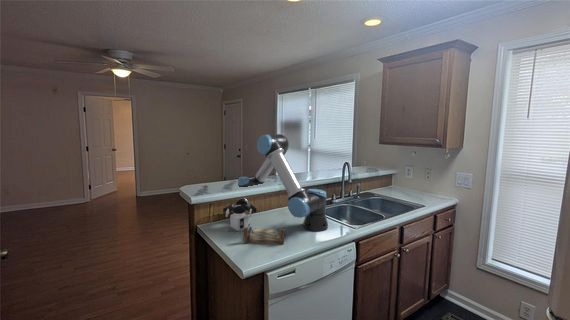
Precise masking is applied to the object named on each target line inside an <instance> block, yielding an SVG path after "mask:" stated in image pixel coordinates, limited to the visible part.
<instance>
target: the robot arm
mask: <svg viewBox="0 0 570 320" xmlns="http://www.w3.org/2000/svg"><path fill="white" fill-rule="evenodd" d="M289 144H290V142H289V140H288V138H287V137H286V136H285V135H284V134H280V133H278V134H269V133H267V134H263V135H261V136H259V138H258V140H257V143H256V148H257V151H258V153H259V154H261V155H263V156H265V158H266V159H265V160H264V161H263V163H262V165H261V166H260V168H259V170H258V171H257V172H256V174H255V175H254V177H252V178H249V177H248V176H239V178H238V181H237V187H238V186H239V187H248V186H253V185H258V184H263V183H265V184H266V179H267V178H268V177H269V175H270V174H271V172H273V169H274V170H275V172H276V174H277V176H278V177H279V179H280V181H281V184H283V187H284V188H285V190H286V192H287V194H288V196H287V200H288V202H287V205H288V206H287V208H288V211H289V213H290V214H291V215H292V216H293V217H295V218H299V219H301V218H304V220H303V222H302V223H303V224H302V225H303V226H302V228H304V229H306V230H307V231H313V232H323V231H326V230H328V228H329V222H328V219H327V216H326V211H327V191H326V192H325V191H323V190H324V189H323V190H318V189H319V188H308V189H307V190H306V188H303V187H302V186H301V184H300V182H299V180H298V178H297V177H296V175H295V173H294V171H293V169H292V167H291V165H290V164H289V162H288V160H287V159H286V156H285V155H286V154H287V152H288V149H289V146H290V145H289ZM237 200H238V199H237ZM237 200H236V203H235V204H232V203H231V204H229V205H227V206H225V207H223V208H222V213H224V214H225V218H228V216H229V214H230V213H231V212H234V207H235V206H237V205H242V206H244V207H245V212H249V218H252V215H253V214H254V213H256V214H257V211H258V210H257V207H255V206H254V205H253V204H252V203H250V204H249V202H248V200H247V199H246V198H241V199H239V200H238V201H237Z"/></svg>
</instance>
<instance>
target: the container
mask: <svg viewBox="0 0 570 320" xmlns="http://www.w3.org/2000/svg"><path fill="white" fill-rule="evenodd" d="M229 216H230V217H229V219H230V221H229V222H230V226H229V228H230V227H232V228H234V229H235V230H237V231H238V230H241V229H244V228H245V227H248V224H249V214H246V211H245V207H244V206H242V205H237V206H235V207H234V211H233V213H232V214H230V215H229Z"/></svg>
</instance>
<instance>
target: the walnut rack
mask: <svg viewBox="0 0 570 320" xmlns="http://www.w3.org/2000/svg"><path fill="white" fill-rule="evenodd" d="M250 232H253V227H252V226H249V228H248V227H245V228H244V232H243V244H276V245H277V244H279V245H281V246H283V245H284V244H285V228H284V227H282V228H280V236H279V241H271V240H249V237H250Z"/></svg>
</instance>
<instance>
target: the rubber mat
mask: <svg viewBox="0 0 570 320" xmlns="http://www.w3.org/2000/svg"><path fill="white" fill-rule="evenodd" d="M250 227H251V224H250V223H248V229H249V228H250ZM227 232H229V233H231V232H234V233H235V232H236V233H244V229H241V230H238V231H237V230H235V229H234V228H232V227H230V226H229V228H228V229H227Z"/></svg>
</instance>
